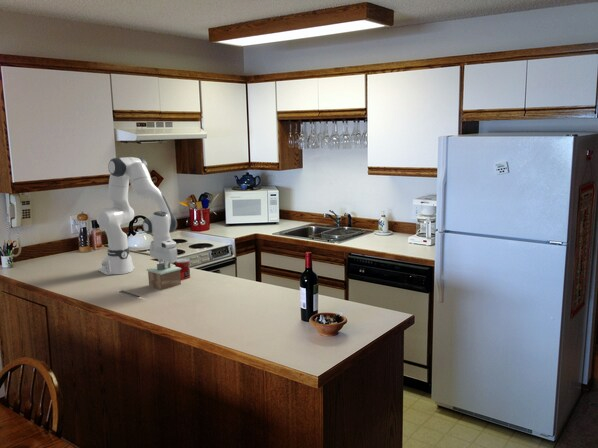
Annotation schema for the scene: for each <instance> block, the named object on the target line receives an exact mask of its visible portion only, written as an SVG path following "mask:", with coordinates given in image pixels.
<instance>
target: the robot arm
mask: <svg viewBox="0 0 598 448" xmlns="http://www.w3.org/2000/svg"><path fill="white" fill-rule="evenodd" d="M107 168H108V172H109V173H110V174H109V180H108V190H107V197H108V199H109V200H110V201H111V202H112V207H109V208H104V209H103V210H100V211H99V212H98V213H97V214H96V222H97V224H98V225H99V227H101V228H102V229H103V230H104V232H105V235H106V237H107V238H106V239H107V242H108V243H107V244H108V245H107V246H108V249H106V251H107V255H106V256H105V257H104V259H103V260H102V261H101V266H102V267H99V268H98V271H99V272H101V274H104V275H106V276H108V275H109V276H111V275H125V274H129V273H131V272H133V271H134V270H135V266H134V264H133V259H132V255H130V247H129V239H128V235H127V233H126V232H124V231H123V230H122V228H121V227H122V226H121V225H125V224H128V223H130V222H131V221H133V220H134V218H135V210H134V208H133V207H131V205H130V203H129V188H130V187H129V185H131V188H132V190H133V193H134V194H135V195H136V196H139V197H140V198H143V199H147V200H150V201H152V202H154V203H156V204H157V207H158V208H159V211H154V212H153V213H152V215H150V216H148V217H145V218H144V219H143V222H142V230H143V232H145V233H146V234H147V235H153V236H152V238H153V239H152V240H151V242H150V245H149V256H150V257H151V258H154V259H157V261H158V262H157V263H158V264H160V263H164V262H165V264H164V265H163V266H164V268H168V263H169V262H170V263H174V262H175V261H176V260H177V259H178V250H177V249H178V248H176V247H177V246H178V245H177V242H176V241H175V240H173V239H172V238H171V234H170V233H173V232H175V231H176V229H177V227H178V221H177V220H178V219H177V218H176V216H175V215H174V213H173V211H172V209H171V208H170V206H169V204H168V203H169V202H167V199H166V198H165V195H164V193H163V191H162V190H161V189H160V188H159V187H157V186H156V185H155V184H154V182H153V181H152V180H153V179H152V177H151V173H150V172H149V170H148V169H149V166H148V163H147V161H146V159H145V158H142V157H134V156H128V157H127V156H125V157H113V158H111V159H110V160H109V163H108V167H107Z"/></svg>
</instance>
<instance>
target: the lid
mask: <svg viewBox="0 0 598 448" xmlns="http://www.w3.org/2000/svg"><path fill="white" fill-rule="evenodd" d="M164 264H165V262H164V261H163V263H160V264H159V263H156V266H154V267H151V268H150V267H149V268H147V269H146V272H148V271H149V272H153V273H157V274H160V275H162V274H166V273H169V272H173V271H177V270H181V268H179V267H175V265H171V262H169V263H168V268H164V266H163V265H164Z"/></svg>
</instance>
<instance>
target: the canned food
mask: <svg viewBox="0 0 598 448" xmlns="http://www.w3.org/2000/svg"><path fill="white" fill-rule="evenodd" d="M174 262H175V263H174V266H175V267H179V268H181V270H180V276H181V280H188V279H191V267H190V264H191V263H190V259H189V258H177V260H176V261H174Z"/></svg>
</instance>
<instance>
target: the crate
mask: <svg viewBox="0 0 598 448" xmlns="http://www.w3.org/2000/svg"><path fill="white" fill-rule="evenodd" d="M147 272H148V273H147V275H148V287H149V286H150V287H153V288H157V289H160V290H167V289H170V288H173V287H176V286H177V287H178V286H180V285H181V284H182V281H181V280H182V279H181V276H180V270H177V271H173V272H169V273H166V274H162V275H160V274H157V273H153V272H149V271H147Z"/></svg>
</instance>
